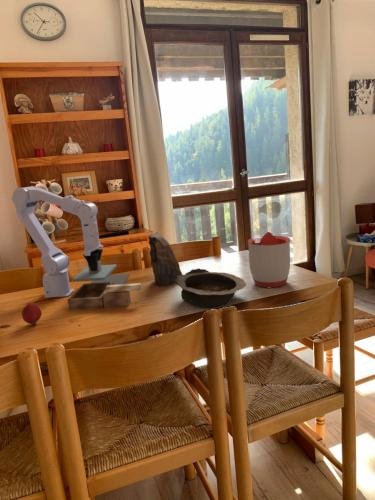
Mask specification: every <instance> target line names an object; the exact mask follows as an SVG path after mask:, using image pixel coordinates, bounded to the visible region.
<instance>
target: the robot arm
mask: <svg viewBox="0 0 375 500" xmlns="http://www.w3.org/2000/svg"><path fill="white" fill-rule="evenodd" d="M11 201H12V203H13V204H14V206H15V210H16V211H15V212H16V215H17V217H18V218H19V220H20V222H21V223H22V225H23V227H24V228H25V229H26V231H27V232H28V234H29V236H30V237H31V239H32V240H33V242H34V244H35V245H36V246H37V248H38V250H39V252H41V258H40V261H41V263H42V266H43V270H44V272H45V273H44V274H43V276H42V285H43V292H44V296H43V297H44V298H46V299H48V298H62V297H63V298H65V297H68V296H70V295H72V293H73V292H75V289H74V288H71V284H70V279H69V272H68V269H69V268H68V267H69V266H70V262H71V260H70V258H69V256H68V255H66V254H65V253H64V252H63V251H62V249H60V248H58V247H56V246H55V245H54V243H53V241H52V240H51V239H50V237H49V235H48V234H47V232H46V230H45V229H44V227H43V225H42V224H41V223H40V221H39V219H38V218H37V216H36V215H35V213H34V212H35V208H36V207H37V205H38V203H39V202H40V201H43V202H46V203H50V204H53V205H57V206H58V207H60V209H61V210H62V211H64V212H67V213H69V214H72V215H75V216H77V217H78V218H79V220H80V224H81V231H82V238H83V244H84V248H83V249H84V250H83V254H82V255H83V257H84V259H85V260H86V262H87V265H88V264H89V267H90V269H91V271H97V260H100V261H101V259H102V254H103V251H104V249H103V248H104V245H103V244H101V242H100V235H99V227H98V226H99V225H98V220H97V215H98V213H99V207H98V206H97V205H96V203H93V202H92V201H88V202H86V201H85V200H83V199H81V200H80V199H77V198H75V197H74V196H73V195H72V194H70V195H65V196H64V197H62V196H60V195H58V194H55V193H54V192H51V191H48V190H46V189H43V188H42V187H38V186H36V185H30V186H25V187H17V188H15V189H14V190H13V192H12V195H11Z"/></svg>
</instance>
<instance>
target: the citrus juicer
mask: <svg viewBox="0 0 375 500" xmlns="http://www.w3.org/2000/svg"><path fill="white" fill-rule="evenodd" d="M247 243H248V244H247V245H248V261H249V263H248V264H249V269H250V274H251V276H252V280H253V283H254V284H255V285H256V286H259V287H262V288H263V287H264V288H266V287H271V288H276V287H280V286H284V285H286V283H287V281H288V279H289V274H290V269H291V248H290V247H291V245H290V244H291V238H290V237H288V236H284V235H274V234H273V233H271V232H270V231H266V233H264V235H263V236H262V237H261V239H260V240H259V242H258V241H257V242H256V240H255V239H253V238H249V239H247Z"/></svg>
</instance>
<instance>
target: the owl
mask: <svg viewBox="0 0 375 500" xmlns="http://www.w3.org/2000/svg"><path fill="white" fill-rule="evenodd" d="M147 238H148V242H147V243H148V244H149V247H150V248H149V249H150V251H149V256H150V266H151V268H152V273H153V275H154V286H158V287H160V288H165V287H168V286H170V285H173V284H176V283H175V281H174V278H176V277H177V275H184V274H183V273H182V271H181V268H180V264H179V261H178V260H177V258H176V255H175V253H174V250H173V248H172V247H171V244H170V242H169V241H168V239H166V238H165V237H164V236H163V235H161V234H160V233H159V232H158V231H156V232H155V233H151V234H149V235H148V237H147Z"/></svg>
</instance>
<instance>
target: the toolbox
mask: <svg viewBox="0 0 375 500" xmlns="http://www.w3.org/2000/svg"><path fill="white" fill-rule="evenodd" d="M107 285H114V282H105V283H91V282H90V283H83V284H82V285H81V286H80V287H79V288H78V289H77V290H76V291H74V293H73V294H71V296H70V297H69V298H67V304H68V310H69V311H84V310H85V311H87V310H101V309H104V308H120V307H121V308H123V307H129V306H130V304H131V302H132V300H131V299H132V298H131V291H122V292H106V286H107Z"/></svg>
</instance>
